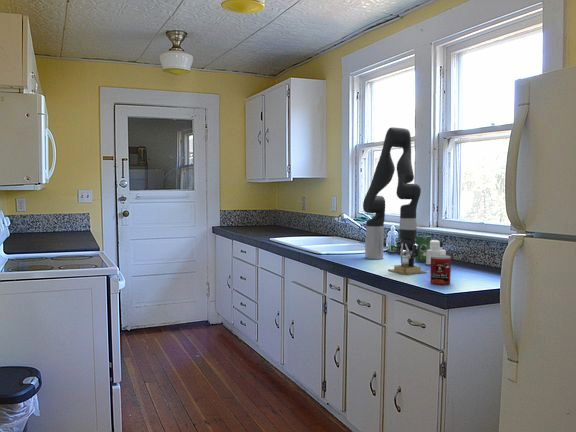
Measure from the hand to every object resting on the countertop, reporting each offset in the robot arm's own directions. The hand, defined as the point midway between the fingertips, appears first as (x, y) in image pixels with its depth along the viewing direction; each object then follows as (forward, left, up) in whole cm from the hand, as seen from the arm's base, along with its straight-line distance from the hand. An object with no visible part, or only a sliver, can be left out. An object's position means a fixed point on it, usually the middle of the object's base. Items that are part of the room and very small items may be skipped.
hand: (407, 265), depth 237 cm
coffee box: (-23, +27, -3) cm, 36 cm away
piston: (0, 0, -1) cm, 1 cm away
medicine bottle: (-13, +27, -3) cm, 30 cm away
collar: (0, 0, -3) cm, 3 cm away
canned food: (+28, -5, -3) cm, 29 cm away
